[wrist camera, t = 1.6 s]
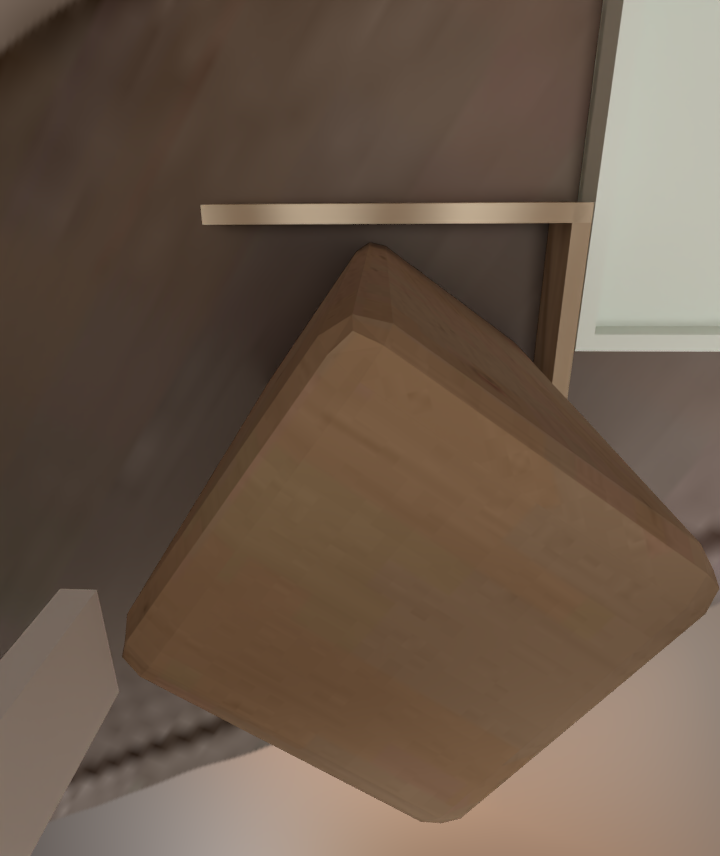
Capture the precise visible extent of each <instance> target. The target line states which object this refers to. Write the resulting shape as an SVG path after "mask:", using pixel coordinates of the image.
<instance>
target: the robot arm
mask: <svg viewBox="0 0 720 856" xmlns="http://www.w3.org/2000/svg"><path fill="white" fill-rule="evenodd" d="M118 693H119V689H118V684H117V680H116V675H115V671H114V666H113V661H112V657H111V652H110V648H109V643H108V639H107V634H106V629H105V625H104V620H103V616H102V611H101V607H100V602H99V597H98V593H97V590H88V589H59V591H58V592H57V593H56V594H55V595H54V597H53V598H52V599H51V600H50V601H49V603H48V604H47V605H46V606H45V607H44V609H43V610H42V611H41V612H40V613H39V615H38V616H37V617H36V618H35V619H34V621H33V622H32V623H31V624H30V625H29V627H28V628H27V629H26V630H25V631H24V633H23V634H22V635H21V636H20V637H19V639H18V640H17V641H16V642H15V643H14V645H13V646H12V647H11V648H10V649H9V651H8V652H7V653H6V654H5V655H4V656H3V658H2V659H1V660H0V856H30V855H31V854H32V852H33V850H34V848H35V846H36V844H37V843H38V841H39V839H40V837H41V835H42V833H43V831H44V830H45V828H46V826H47V824H48V822H49V820H50V819H51V817H52V815H53V813H54V811H55V809H56V808H57V806H58V804H59V802H60V800H61V798H62V796H63V795H64V793H65V791H66V789H67V787H68V785H69V784H70V782H71V780H72V778H73V776H74V774H75V772H76V771H77V769H78V767H79V765H80V763H81V761H82V760H83V758H84V756H85V754H86V752H87V750H88V748H89V747H90V745H91V743H92V741H93V739H94V737H95V736H96V734H97V732H98V730H99V728H100V726H101V724H102V723H103V721H104V719H105V717H106V715H107V713H108V712H109V710H110V708H111V706H112V704H113V702H114V700H115V699H116V697H117V695H118Z"/></svg>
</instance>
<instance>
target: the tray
mask: <svg viewBox="0 0 720 856" xmlns="http://www.w3.org/2000/svg"><path fill="white" fill-rule="evenodd" d="M577 202H594V209H593V216H592V223H591V230H590V238H589V245H588V252H587V259H586V267H585V274H584V281H583V288H582V296H581V303H580V310H579V317H578V325H577V332H576V339H575V346H574V351H718V352H720V0H603V4H602V12H601V20H600V27H599V35H598V43H597V51H596V59H595V67H594V74H593V82H592V90H591V98H590V106H589V114H588V122H587V129H586V137H585V145H584V153H583V161H582V169H581V177H580V184H579V192H578V200H577Z"/></svg>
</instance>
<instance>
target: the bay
mask: <svg viewBox="0 0 720 856" xmlns="http://www.w3.org/2000/svg"><path fill="white" fill-rule="evenodd" d="M593 209H594V202H462V203H303V204H210V205H201V215H202V225H253V224H451V223H549V230H548V239H547V248H546V257H545V266H544V275H543V284H542V293H541V302H540V311H539V320H538V329H537V338H536V347H535V356H534V364H535V365H536V366H537V367H538V368H539V370H540V371H541V372H542V373H543V374H544V375H545V376H546V377H547V378H548V379H549V380H550V381H551V383H552V384H553V385H554V386H555V387H556V388H557V389H558V390H559V391H560V392H561V393H562V394H563V395H564V397H565V398H566V399H567V397H568V390H569V383H570V375H571V368H572V361H573V354H574V346H575V339H576V332H577V325H578V317H579V310H580V303H581V296H582V288H583V281H584V274H585V267H586V259H587V252H588V245H589V238H590V230H591V223H592V216H593Z"/></svg>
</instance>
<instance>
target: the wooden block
mask: <svg viewBox="0 0 720 856" xmlns="http://www.w3.org/2000/svg"><path fill="white" fill-rule="evenodd" d="M718 590H719V586H718V583H717V580H716V577H715V574H714V570H713V568H712V566H711V564H710V562H709V560H708V558H707V556H706V554H705V552H704V550H703V548H702V546H701V544H700V543H699V542H698V541H697V540H696V538H695V537H694V536H693V535H692V534H691V533H690V532H689V531H688V530H687V529H686V528H685V527H684V525H683V524H682V523H681V522H680V521H679V520H678V519H677V518H676V517H675V516H674V515H673V514H672V512H671V511H670V510H669V509H668V508H667V507H666V506H665V505H664V504H663V503H662V502H661V501H660V499H659V498H658V497H657V496H656V495H655V494H654V493H653V492H652V491H651V490H650V489H649V488H648V486H647V485H646V484H645V483H644V482H643V481H642V480H641V479H640V478H639V477H638V476H637V475H636V473H635V472H634V471H633V470H632V469H631V468H630V467H629V466H628V465H627V464H626V463H625V462H624V460H623V459H622V458H621V457H620V456H619V455H618V454H617V453H616V452H615V451H614V450H613V449H612V447H611V446H610V445H609V444H608V443H607V442H606V441H605V440H604V439H603V438H602V437H601V436H600V434H599V433H598V432H597V431H596V430H595V429H594V428H593V427H592V426H591V425H590V424H589V423H588V421H587V420H586V419H585V418H584V417H583V416H582V415H581V414H580V413H579V412H578V411H577V410H576V408H575V407H574V406H573V405H572V404H571V403H570V402H569V401H568V400H567V399H566V398H565V397H564V395H563V394H562V393H561V392H560V391H559V390H558V389H557V388H556V387H555V386H554V385H553V384H552V383H551V381H550V380H549V379H548V378H547V377H546V376H545V375H544V374H543V373H542V372H541V371H540V370H539V368H538V367H537V366H536V365H535V364H534V363H533V362H532V361H531V360H530V359H529V358H528V357H527V355H526V354H525V353H524V352H523V351H522V350H521V349H520V348H519V347H518V346H517V345H516V344H515V342H513V341H512V340H511V339H509V338H508V337H507V336H505V335H504V334H503V333H501V332H500V331H499V330H497V329H496V328H495V327H493V326H492V325H491V324H489V323H488V322H487V321H485V320H484V319H482V318H481V317H480V316H478V315H477V314H476V313H474V312H473V311H472V310H470V309H469V308H468V307H466V306H465V305H464V304H462V303H461V302H460V301H458V300H457V299H456V298H454V297H453V296H452V295H450V294H449V293H448V292H446V291H445V290H444V289H442V288H441V287H440V286H438V285H437V284H436V283H434V282H433V281H432V280H430V279H429V278H428V277H426V276H425V275H424V274H422V273H421V272H420V271H418V270H417V269H416V268H414V267H413V266H411V265H410V264H409V263H407V262H406V261H405V260H403V259H402V258H401V257H399V256H398V255H397V254H395V253H394V252H393V251H391V250H390V249H389V248H387V247H386V246H383V245H378V244H374V243H368V244H367V245H365V246H364V247H362V248H361V249H359V250H358V251H356V253H355V254H354V256H353V257H352V259H351V260H350V262H349V263H348V265H347V266H346V268H345V269H344V271H343V272H342V274H341V275H340V277H339V278H338V280H337V281H336V283H335V284H334V286H333V287H332V289H331V290H330V292H329V293H328V294H327V296H326V297H325V299H324V300H323V302H322V303H321V305H320V306H319V308H318V309H317V311H316V312H315V314H314V315H313V317H312V318H311V320H310V321H309V323H308V324H307V326H306V327H305V329H304V330H303V332H302V333H301V335H300V336H299V338H298V339H297V341H296V342H295V344H294V345H293V347H292V348H291V350H290V351H289V353H288V354H287V356H286V357H285V358H284V360H283V361H282V363H281V364H280V366H279V367H278V369H277V370H276V372H275V373H274V375H273V376H272V378H271V379H270V381H269V382H268V384H267V386H266V387H265V389H264V391H263V392H262V394H261V396H260V397H259V399H258V400H257V402H256V404H255V405H254V407H253V409H252V410H251V412H250V414H249V415H248V417H247V418H246V420H245V422H244V423H243V425H242V427H241V428H240V430H239V432H238V433H237V435H236V437H235V438H234V440H233V441H232V443H231V445H230V446H229V448H228V450H227V451H226V453H225V455H224V456H223V458H222V460H221V461H220V463H219V464H218V466H217V468H216V469H215V471H214V473H213V474H212V476H211V478H210V479H209V481H208V483H207V484H206V486H205V487H204V489H203V491H202V492H201V494H200V496H199V497H198V499H197V501H196V502H195V504H194V505H193V507H192V509H191V510H190V512H189V514H188V515H187V517H186V519H185V520H184V522H183V524H182V525H181V527H180V528H179V530H178V532H177V533H176V535H175V537H174V538H173V540H172V542H171V543H170V545H169V547H168V548H167V550H166V551H165V553H164V555H163V556H162V558H161V560H160V561H159V563H158V565H157V566H156V568H155V570H154V571H153V573H152V574H151V576H150V578H149V579H148V581H147V583H146V584H145V586H144V588H143V589H142V591H141V592H140V594H139V596H138V597H137V599H136V601H135V602H134V604H133V606H132V607H131V609H130V611H129V612H128V614H127V624H126V636H125V644H124V649H123V655H122V657H123V658H124V659H125V660H126V661H127V663H128V664H129V665H130V666H131V667H132V668H133V669H134V670H135V671H136V673H137V674H138V675H139V676H140V677H142V678H144V679H146V680H148V681H150V682H152V683H154V684H156V685H158V686H159V687H161V688H163V689H165V690H167V691H169V692H171V693H173V694H175V695H177V696H179V697H181V698H183V699H185V700H187V701H188V702H190V703H192V704H194V705H196V706H198V707H200V708H202V709H204V710H206V711H208V712H210V713H212V714H214V715H216V716H218V717H219V718H221V719H223V720H225V721H227V722H229V723H231V724H233V725H235V726H237V727H239V728H241V729H243V730H245V731H247V732H248V733H250V734H252V735H254V736H256V737H258V738H260V739H262V740H264V741H266V742H268V743H270V744H272V745H274V746H276V747H278V748H279V749H281V750H283V751H285V752H287V753H289V754H291V755H293V756H295V757H297V758H299V759H301V760H303V761H305V762H307V763H309V764H311V765H312V766H314V767H317V768H318V769H320V770H322V771H324V772H326V773H328V774H330V775H332V776H334V777H336V778H337V779H339V780H341V781H343V782H345V783H347V784H349V785H351V786H353V787H355V788H357V789H359V790H361V791H363V792H365V793H366V794H369V795H370V796H372V797H374V798H376V799H378V800H380V801H382V802H384V803H386V804H388V805H390V806H392V807H394V808H396V809H397V810H400V811H401V812H403V813H405V814H407V815H409V816H411V817H413V818H415V819H417V820H419V821H421V822H433V823H444V822H448V821H452V820H456V819H460V818H462V817H463V816H464V815H465V814H466V813H468V812H469V811H470V810H471V809H472V808H474V807H475V806H476V805H477V804H478V803H480V801H482V800H483V799H484V798H485V797H487V796H488V795H489V794H490V793H491V792H493V791H494V790H495V789H496V788H498V787H499V786H500V785H501V784H502V783H503V782H505V781H506V780H507V779H508V778H509V777H511V776H512V775H513V774H514V773H515V772H517V771H518V770H519V769H520V768H521V767H523V766H524V765H525V764H526V763H527V762H529V761H530V760H531V759H532V758H533V757H535V756H536V755H537V754H538V753H539V752H541V751H542V750H543V749H544V748H545V747H547V746H548V745H549V744H550V743H551V742H552V741H554V740H555V739H556V738H557V737H558V736H560V735H561V734H562V733H563V732H565V731H566V729H568V728H569V727H570V726H572V725H573V724H574V723H575V722H576V721H578V720H579V719H580V718H581V717H582V716H584V715H585V714H586V713H587V712H588V711H590V710H591V709H592V708H593V707H594V706H595V705H597V704H598V703H599V702H600V701H602V700H603V699H604V698H605V697H606V696H607V695H609V694H610V693H611V692H612V691H614V690H615V689H616V688H617V687H618V686H619V685H621V684H622V683H623V682H624V681H626V680H627V679H628V678H629V677H630V676H632V675H633V674H634V673H635V672H636V671H637V670H638V669H640V668H641V667H642V666H643V665H645V664H646V663H647V662H648V661H649V660H651V659H652V658H653V657H654V656H655V655H657V654H658V653H659V652H660V651H661V650H662V649H664V648H665V647H666V646H667V645H669V644H670V643H671V642H672V641H673V640H675V639H676V638H677V637H678V636H679V635H680V634H682V633H683V632H684V631H685V630H686V629H688V628H689V627H690V626H691V625H693V624H694V623H695V622H696V621H697V620H698V619H700V618H701V617H702V616H703V615H704V614H705V613H706V612H707V610H708V608H709V606H710V604H711V602H712V601H713V599H714V597H715V595H716V593H717V592H718Z"/></svg>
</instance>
